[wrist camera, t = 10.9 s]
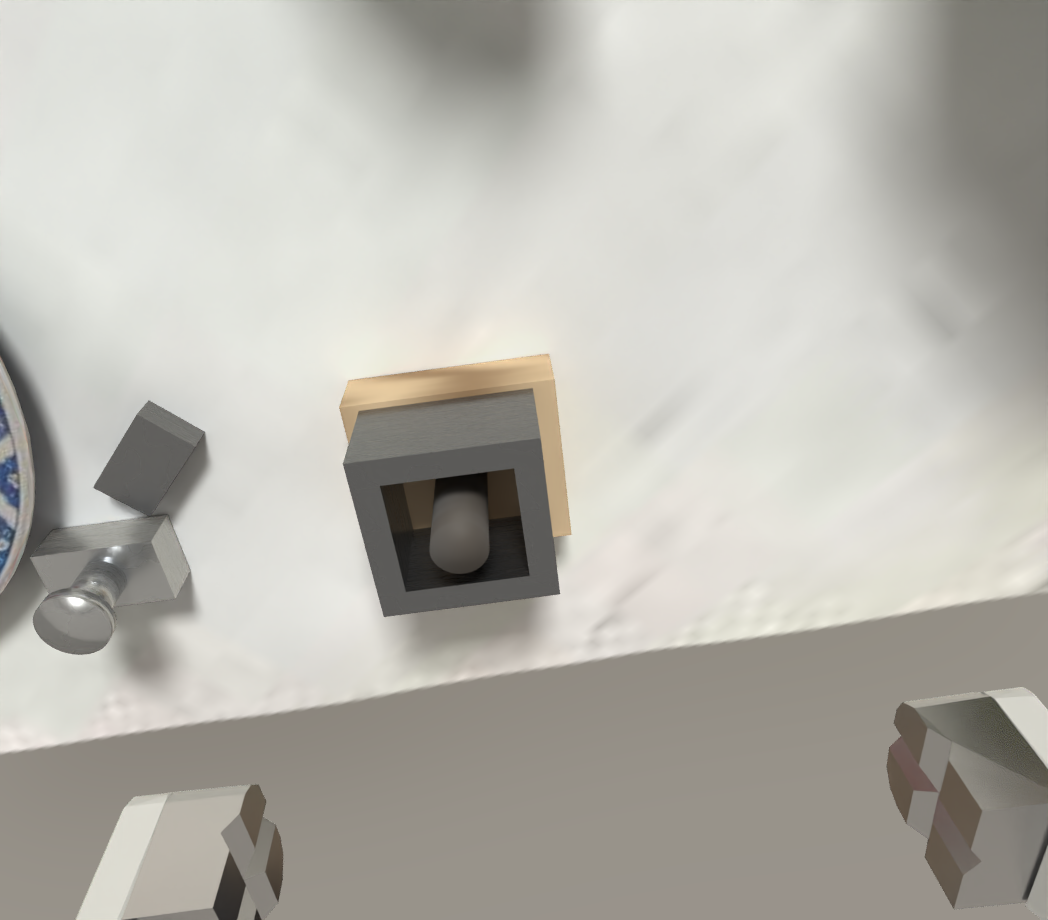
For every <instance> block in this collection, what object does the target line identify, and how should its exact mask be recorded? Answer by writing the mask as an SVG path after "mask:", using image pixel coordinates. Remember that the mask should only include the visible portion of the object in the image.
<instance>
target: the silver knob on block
mask: <svg viewBox="0 0 1048 920" xmlns="http://www.w3.org/2000/svg"><path fill="white" fill-rule="evenodd" d="M30 559H31V561H32V563H33V565H34V566H35V568H36V570H37V572H38V574H39V576H40V578H41V580H42V582H43V583H44V585H45V587H46V589H47V591H48V593H49V595H48V596H47V597H45V599H44V600H43V601H42V603H41V604H40V605H39V607H38V608H37V610H36V611H35V613H34V616H33V625H34V628H35V630H36V632H37V634H38V635H39V636H40V638H41V639H42V640H43V641H44V642H46V643H47V644H48V645H50V646H51V647H53V648H55V649H57V650H59V651H62V652H65V653H70V654H78V655H83V654H90V653H94V652H96V651H99V650H100V649H102V648H103V647H104V646H105V645H106V644H107V643H108V641H109V640H110V638H111V636H112V634H113V633H114V631H115V629H116V625H117V619H116V615H115V612H114V610H113V607H118V606H126V605H133V604H141V603H149V602H156V601H164V600H172V599H176V597H177V595H178V593H179V591H180V589H181V587H182V586H183V584H184V582H185V580H186V578H187V576H188V574H189V572H190V568H189V566H188V564H187V561H186V559H185V556H184V554H183V551H182V549H181V546H180V544H179V542H178V539H177V537H176V534H175V532H174V529H173V527H172V524H171V522H170V520H169V517H168V515H161V516H154V517H146V518H138V519H131V520H123V521H116V522H108V523H100V524H93V525H85V526H78V527H70V528H62V529H55V530H52V531H51V532H50V534H49V535H48V536H47V537H46V538H45V540H44V541H43V542H42V543H41V544H40V546H39V547H38V548H37V549H36V550H35V552H34V553H33V554H32V555H31V557H30Z"/></svg>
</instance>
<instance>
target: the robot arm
mask: <svg viewBox="0 0 1048 920" xmlns="http://www.w3.org/2000/svg"><path fill="white" fill-rule="evenodd" d="M894 724H895V726H896V728H897V730H898V731H899V733H900V735H901V737H900V738H899V739H898V740H897V741H895V742H894V744H892V745H891V746H890V747H889V753H888V759H887V772H888V778H889V784H890V789H891V791H892V794H893V797H894V800H895V802H896V805H897V807H898V809H899V811H900V813H901V814H902V816H903V818H904V820H905V822H906V824H907V825H909V826H910V827H912V828H913V829H915V830H916V831H917V832H919V833H920V834H922V835H923V836H925V837H926V838H927V839H928V842H927V847H926V853H925V859H926V860H927V862H928V864H929V866H930V868H931V869H932V871H933V873H934V875H935V877H936V878H937V880H938V882H939V884H940V886H941V887H942V889H943V891H944V892H945V895H946V896H947V898H948V900H949V901H950V903H951V905H952V907H953V909H964V908H974V907H984V906H994V905H1005V904H1015V903H1025V902H1027V903H1026V906H1025V907H1027V908H1028V909H1029V910H1030V911H1031V912H1033V913H1034V914H1035V915H1036V916H1038V917H1039V918H1040V919H1041V920H1048V710H1047V709H1046V708H1045V706H1044V705H1043V704H1042V703H1041V702H1040V701H1039V699H1038V698H1037V697H1036V696H1035V695H1034V694H1033V693H1032V692H1030V691H1029V690H1027V689H1025V688H1023V687H1019V688H1011V689H1003V690H994V691H986V692H981V693H978V692H973V693H965V694H958V695H951V696H944V697H936V698H930V699H922V700H915V701H908V702H903V703H902V704H901V705H900V706H899V707H898V708H897V710H896V715H895V720H894ZM265 805H266V799H265V797H264V795H263V793H262V791H261V788H260V786H259V785H242V786H232V787H222V788H211V789H203V790H202V789H201V790H191V791H181V792H172V793H163V794H155V795H146V796H137V797H134V798H133V799H132V800H131V801H130V802H129V803H128V804H127V805H126V807H125V808H124V809H123V810H122V813H121V815H120V818H119V820H118V822H117V824H116V827H115V829H114V831H113V834H112V836H111V838H110V841H109V843H108V845H107V848H106V850H105V852H104V854H103V857H102V859H101V861H100V864H99V866H98V869H97V871H96V873H95V875H94V878H93V880H92V882H91V885H90V887H89V889H88V892H87V894H86V896H85V899H84V901H83V903H82V905H81V908H80V910H79V912H78V915H77V917H76V919H75V920H264V919H265V918H266V917H267V916H268V915H269V913H270V912H271V911H272V910H273V909H274V907H275V906H276V905H277V904H278V901H279V896H280V891H281V886H282V880H283V849H282V844H281V837H280V834H279V832H278V829H277V827H276V824H274V823H273V822H271V821H269V820H268V819H266V818H264V817H263V814H264V810H265Z"/></svg>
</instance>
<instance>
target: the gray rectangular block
mask: <svg viewBox="0 0 1048 920" xmlns="http://www.w3.org/2000/svg"><path fill="white" fill-rule="evenodd" d="M204 433H205V432H204V431H202V430H200V429H199V428H197V427H195V426H193V425H192V424H190V423H188V422H186V421H184V420H183V419H181V418H179V417H177V416H176V415H174V414H172V413H170V412H169V411H167V410H165V409H163V408H161V407H160V406H158V405H156V404H154V403H153V402H151V401H148V402H147V403H146V404H145V405H144V407H143V408H142V409H141V410H140V411H139V413H138V414H137V415H136V417H135V418H134V420H133V422H132V423H131V425H130V427H129V428H128V430H127V432H126V434H125V435H124V437H123V439H122V440H121V442H120V444H119V445H118V447H117V449H116V450H115V452H114V454H113V455H112V457H111V459H110V460H109V462H108V464H107V465H106V467H105V469H104V470H103V472H102V474H101V475H100V477H99V479H98V480H97V482H96V484H95V485H94V487H93V488H95V489H97V490H99V491H101V492H103V493H105V494H106V495H108V496H110V497H112V498H114V499H116V500H118V501H120V502H122V503H124V504H126V505H128V506H130V507H132V508H134V509H136V510H138V511H140V512H142V513H144V514H146V515H148V516H151V515H152V513H153V512H154V510H155V509H156V507H157V506H158V504H159V502H160V501H161V499H162V498H163V496H164V495H165V493H166V492H167V490H168V488H169V487H170V485H171V484H172V482H173V481H174V479H175V478H176V476H177V475H178V473H179V471H180V470H181V468H182V467H183V465H184V464H185V462H186V461H187V459H188V458H189V456H190V454H191V453H192V451H193V450H194V448H195V447H196V445H197V444H198V442H199V440H200V439H201V437H202V436H203V434H204Z"/></svg>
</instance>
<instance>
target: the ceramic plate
mask: <svg viewBox="0 0 1048 920" xmlns="http://www.w3.org/2000/svg"><path fill="white" fill-rule="evenodd" d="M34 505H35V472H34V464H33V456H32V449H31V441H30V434H29V431H28V428H27V425H26V422H25V418H24V415H23V412H22V409H21V406H20V403H19V400H18V397H17V394H16V390H15V388H14V385H13V383H12V381H11V379H10V376H9V374H8V372H7V370H6V368H5V365H4V363H3V361H2V359H1V357H0V594H1V593H2V591H3V590H4V589H5V587H6V586H7V584H8V582H9V581H10V579H11V578H12V576H13V575H14V573H15V571H16V568H17V566H18V564H19V562H20V560H21V557H22V555H23V553H24V551H25V547H26V544H27V541H28V537H29V534H30V530H31V526H32V519H33V512H34Z"/></svg>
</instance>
